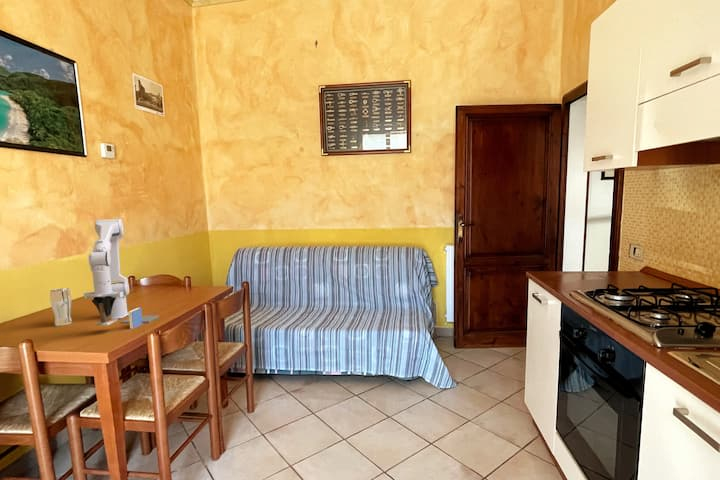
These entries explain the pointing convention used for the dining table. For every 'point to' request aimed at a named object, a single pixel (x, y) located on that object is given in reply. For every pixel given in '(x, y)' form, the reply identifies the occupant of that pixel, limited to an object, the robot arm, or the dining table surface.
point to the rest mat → (143, 319)
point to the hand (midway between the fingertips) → (105, 315)
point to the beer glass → (61, 306)
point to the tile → (135, 318)
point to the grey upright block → (104, 316)
